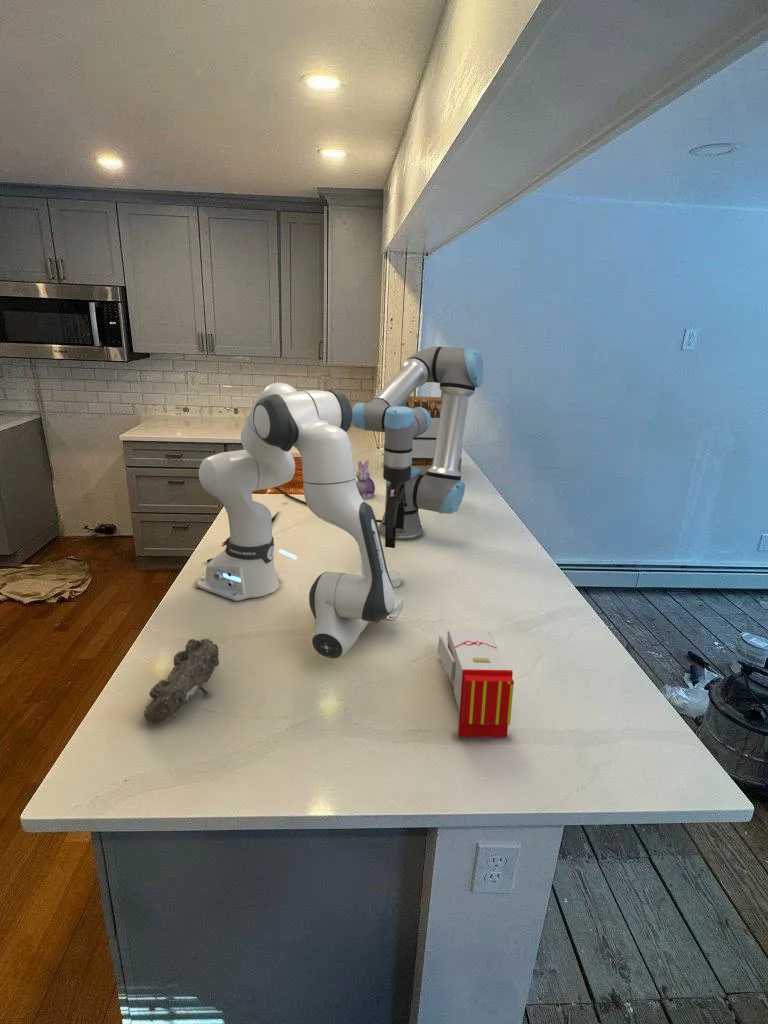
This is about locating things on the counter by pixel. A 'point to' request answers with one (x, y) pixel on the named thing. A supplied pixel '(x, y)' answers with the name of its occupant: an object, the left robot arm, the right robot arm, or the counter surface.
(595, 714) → the counter surface
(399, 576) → the white cylinder
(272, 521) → the feather
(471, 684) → the toy
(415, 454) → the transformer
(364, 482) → the figurine
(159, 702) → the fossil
